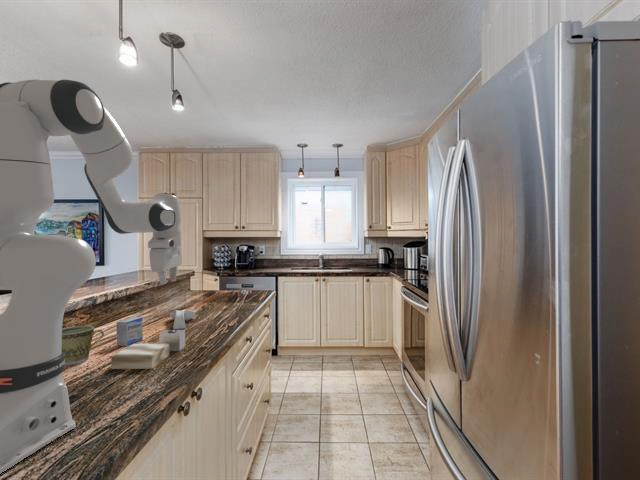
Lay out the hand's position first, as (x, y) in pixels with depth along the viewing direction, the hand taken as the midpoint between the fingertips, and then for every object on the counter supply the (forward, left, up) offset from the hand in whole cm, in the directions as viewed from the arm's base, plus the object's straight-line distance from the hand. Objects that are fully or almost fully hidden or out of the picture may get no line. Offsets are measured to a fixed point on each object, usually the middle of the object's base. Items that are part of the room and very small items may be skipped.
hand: (168, 281), depth 111 cm
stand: (-11, +3, -24) cm, 26 cm away
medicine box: (+8, +18, -24) cm, 31 cm away
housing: (+1, -1, -24) cm, 24 cm away
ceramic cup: (-10, +23, -24) cm, 35 cm away
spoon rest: (+36, +11, -24) cm, 45 cm away
